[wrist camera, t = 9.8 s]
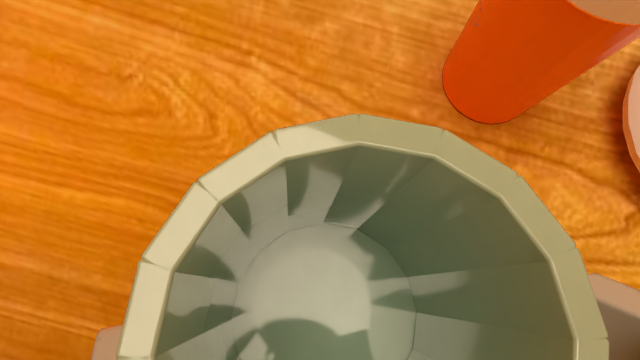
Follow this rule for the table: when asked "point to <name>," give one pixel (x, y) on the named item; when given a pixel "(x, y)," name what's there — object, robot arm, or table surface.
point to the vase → (632, 117)
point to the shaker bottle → (531, 51)
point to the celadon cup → (361, 256)
